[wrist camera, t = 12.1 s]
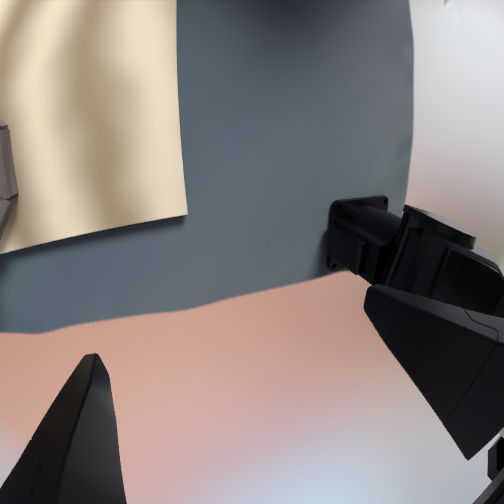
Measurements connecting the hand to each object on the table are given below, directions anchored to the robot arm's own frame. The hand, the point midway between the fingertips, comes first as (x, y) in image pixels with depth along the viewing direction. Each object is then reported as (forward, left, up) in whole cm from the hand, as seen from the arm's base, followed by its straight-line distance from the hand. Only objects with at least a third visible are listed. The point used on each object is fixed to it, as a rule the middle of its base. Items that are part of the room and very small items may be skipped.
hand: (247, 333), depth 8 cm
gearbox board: (+11, -13, -13) cm, 22 cm away
